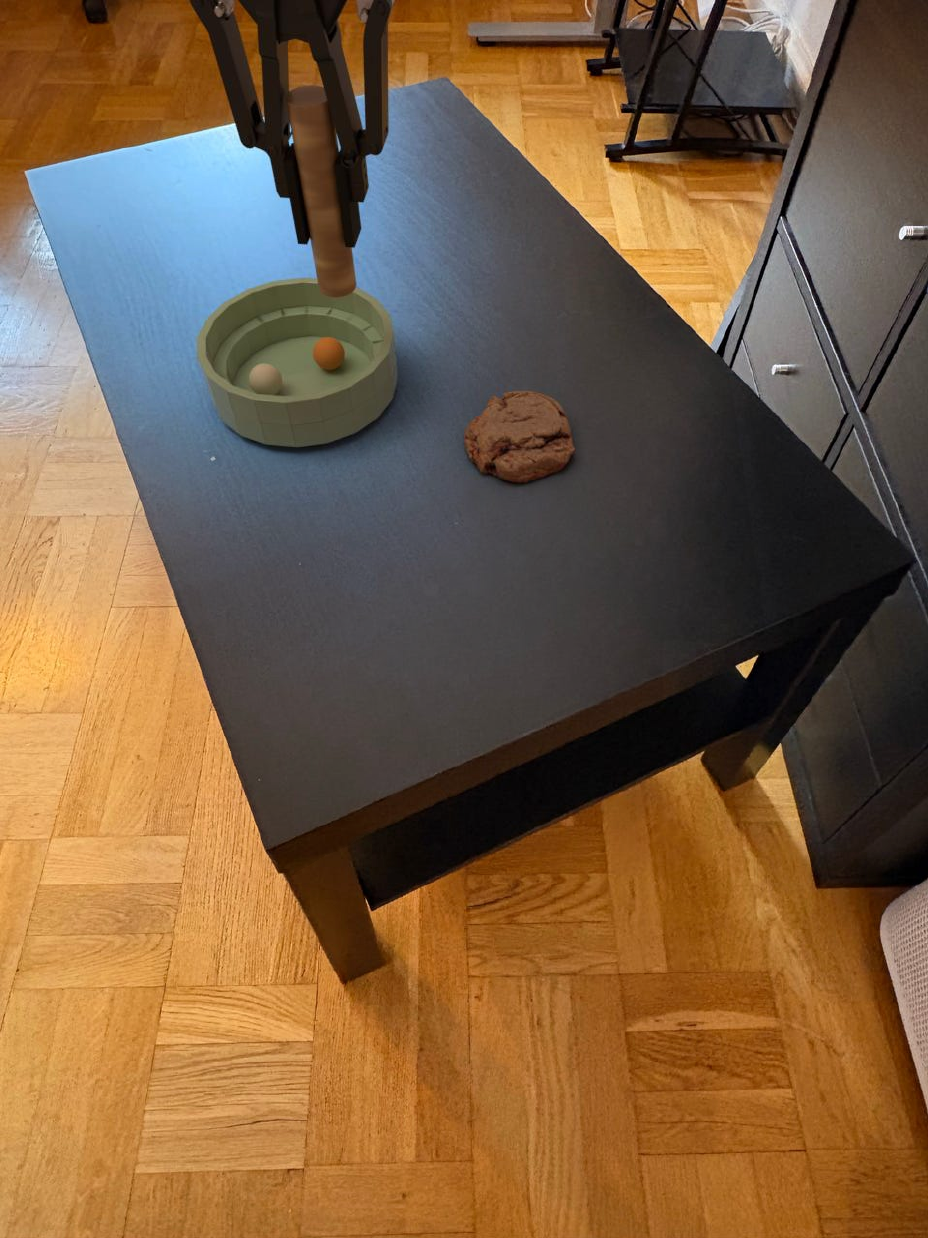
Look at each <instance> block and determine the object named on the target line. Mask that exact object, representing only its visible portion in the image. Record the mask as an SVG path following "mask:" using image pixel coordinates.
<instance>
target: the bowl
mask: <svg viewBox="0 0 928 1238" xmlns="http://www.w3.org/2000/svg"><path fill="white" fill-rule="evenodd" d="M324 337H332V338H335V339H337V340H338V341H339V342H340V343H341V344H342V346H343V348H344V351H345V357H344V361H343V363H342V364H341V365H340V366H339V367H338V368H336V369H333V370H326V369H323V368H321V367H320V366H319V365H318V364H317V363H316V362H315V360H314V357H313V349H314V346H315V344H316V343H317V341H319V340H320V339H322V338H324ZM395 341H396V340H395V332H394V328H393V323H392V318H391V315H390V313H389V312H388V310H387V309H385V307H384V306H383V304H382V303H381V302H380V301H379V300H378V299H377V298H376V297H374V296H373V295H371V294H370V293H368V292H367V291H364V290H363V289H362V288H359V287H358V286H356V288H355V290H354V291H353V292H352V293H350V294H349V295H346V296H343V297H329V296H326V295H324V294H322V293H321V292H320V290H319V286H318V281H317V277H316V278H315V277H297V278H289V279H287V278H286V279H279V280H273V281H269V282H266V283H263V284H259V285H257V286H256V285H255V286H253V287H250V288H247V289H245V290H244V291H241V292H240V293H238V294H236V295H234V296H233V297H231V298H229V299H228V300H227V299H226V301H224V302H222V303H221V304H220V305H219V306H218V307H217V308H216V309H215V310H214V311H213V312H211V314H210V315H209V316H207V318H206V319H205V320H204V323H203V325H202V327H201V329H200V330H199V333H198V335H197V337H196V359H197V363H198V365H199V368H200V371H201V374H202V377H203V379H204V380H203V381H204V383H205V386H206V391H207V393H208V396H209V398H210V402H211V404H212V406H213V408H214V410H215V412H216V413H217V415H218V417H219V419H220V420H221V422H222V423H224V424H225V425H226V426H228V427H229V428H231V430H233V431H234V432H235V433H236V434H238V435H239V436H241V437H243V438H246V439H249V440H252V441H254V442H258V443H260V444H263V445H267V446H276V447H277V446H278V447H290V448H301V447H311V446H316V445H317V446H318V445H324V444H330V443H332V442H335V441H338V440H340V439H343V438H346V437H349V436H352V435H355V434H356V433H358V432H359V431H361V430H362V429H364V428H365V427H367V426H368V425H369V424H371V423H372V422H374V421H375V420H377V419H378V418H379V417H380V416H381V415H382V414H383V412H384V411H385V410H386V408H387V407H388V406H389V404H390V403H391V402H392V401H393V399H394V397H395V392H396V389H397V384H398V380H399V375H398V373H399V372H398V362H397V352H396V342H395ZM264 363H265V364H270V365H273V366H274V367H276V368H277V369H278V371H279V372H280V374H281V377H282V386H281V388H280V390H279V391H278V393H276V394H275V395H264V394H256V393H255V392H254V391H253V390H252V388H251V386H250V383H249V375H250V372H251V371H252V369H253V368H254V367H255V366H257V365H259V364H264Z"/></svg>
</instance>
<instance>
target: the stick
mask: <svg viewBox="0 0 928 1238" xmlns="http://www.w3.org/2000/svg"><path fill="white" fill-rule="evenodd" d="M286 103H287V109H288V114H289V120H290V132H292V135H291V138H292V143H294V149H295V154H296V160H297V166H298V172H299V177H300V183H301V189H302V195H303V200H304V206H305V212H306V217H307V223H308V229H309V235H310V239H309V241H310V246H311V250H312V251H311V252H312V258H313V262H314V269H315V274H316V278H317V281H318V286H319V290H320V292H321V293H322V294H324V295H326V296H329V297H343V296H346V295H349V294H350V293H352V292H353V291H354V290H355V288H356V287H357V276H356V270H355V262H354V256H353V248H350V247H345V241H344V234H343V227H342V219H341V212H340V205H339V198H338V190H337V183H336V176H335V169H334V163H335V161H336V158H337V157H338V155H339V151H340V148H339V140H338V137H337V133H336V129H335V126H334V122H333V119H332V115H331V112H330V108H329V104H328V101H327V97H326V94H325V90H324V87H323V86H321V85H313V84H312V85H310V84H309V85H303V86H302V85H301V86H298V87H295V88H293V89H291V90H289V92H288V93H287V95H286Z"/></svg>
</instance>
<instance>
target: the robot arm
mask: <svg viewBox="0 0 928 1238" xmlns="http://www.w3.org/2000/svg"><path fill="white" fill-rule="evenodd" d="M237 1H238V2H239V4H240V5H241V6H242V8H243V9H244V10H245V11H246V13H247V14H248V15H249V16H250V18H251V19H252V20H253V22H254V23H255V24H256V26H257V43H258V46H257V47H258V55H259V56H260V59H261V60H260V61H261V77H262V78H261V81H262V82H261V83H262V99H263V100H262V101H263V112H262V108H261V105H260V101H259V98H258V94H257V91H256V87H255V82H254V79H253V75H252V71H251V67H250V64H249V61H248V60H249V59H248V56H247V53H246V50H245V46H244V42H243V38H242V35H241V31H240V27H239V24H238V21H237V17H236V15H235V12H234V9H235V5H236V4H235V0H189V3H190V5H191V7H192V9H193V10H194V12H195V14H196V16H197V17H198V19H199V20H200V22H201V24H202V25H203V27H204V28H205V30H206V32H207V34H208V37H209V40H210V44H211V48H212V51H213V54H214V57H215V60H216V65H217V67H218V71H219V74H220V77H221V81H222V85H223V88H224V91H225V94H226V98H227V101H228V105H229V108H230V111H231V114H232V118H233V121H234V124H235V127H236V131H237V135H238V138H239V141H240V143H241V145H242V146H243V147H244V148H246V149H250V150H251V149H254V148H256V149H258V150H261V151H263V152H264V153H266V155H267V157H268V158H269V161H270V166H271V170H272V176H273V182H274V186H275V191H276V194H277V195H278V196H279V198H280V199H289V203H290V208H291V214H292V220H293V225H294V230H295V236H296V242H297V244H298V245H309V241H310V235H309V229H308V223H307V217H306V212H305V206H304V200H303V195H302V189H301V183H300V177H299V172H298V166H297V160H296V154H295V149H294V143H293V142H291V143H290V139H291V138H292V132H291V126H290V120H289V114H288V109H287V103H286V95H287V93H288V92H289V91H290V74H289V73H290V72H289V71H290V70H289V69H290V68H289V41H292V40H297V41H301V42H303V43H306V44H308V47H309V50H310V54H311V57H312V59H313V61H314V62H315V63H316V64H317V68H318V72H319V74H320V79H321V83H322V87H324V90H325V94H326V97H327V101H328V104H329V108H330V112H331V115H332V119H333V122H334V126H335V129H336V133H337V141H338V145H339V147H340V148H339V155H338V157H337V158H336V161H335V163H334V169H335V176H336V183H337V190H338V198H339V205H340V212H341V219H342V227H343V234H344V241H345V247H350V248H352V249H354V248H356V246H357V242H358V239H359V236H360V234H361V231H362V221H361V214H360V206H359V205H360V204H359V203H364V202H365V199H366V197H367V194H368V191H369V187H370V185H369V174H368V164H367V157H368V156H370V155H371V156H379V155H380V154H381V153H382V152H383V149H384V147H385V144H386V141H387V139H388V135H389V132H390V131H389V129H390V128H389V127H390V126H389V123H390V121H389V120H390V119H389V118H390V117H389V22H390V19H391V16H392V14H393V11H394V7H395V4H396V1H397V0H354V1H355V3H356V6H357V9H356V13H357V18H358V19H359V21H360V23H362V24H363V25H365V27H364V30H363V36H362V37H363V38H362V52H363V53H362V56H363V58H362V59H363V88H364V89H363V90H364V91H363V92H364V124H365V125H364V126H365V129H364V127H363V123H362V119H361V116H360V112H359V108H358V104H357V99H356V96H355V92H354V91H355V90H354V89H353V84H352V79H351V75H350V73H349V69H348V64H347V60H346V57H345V52H344V48H343V44H342V38H343V37H342V31H341V28H340V27H341V26H340V22H339V18H340V16H341V14H342V12H343V10H344V8H345V7H346V5H347V3H348V1H349V0H237Z"/></svg>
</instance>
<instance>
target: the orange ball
mask: <svg viewBox="0 0 928 1238" xmlns="http://www.w3.org/2000/svg"><path fill="white" fill-rule="evenodd" d="M313 357H314V360H315V362H316V363H317V364H318V365H319V366H320V367H321V368H323V369H326V370H333V369H336V368H338V367H339V366H340V365H341V364H342V363H343V361H344V357H345V351H344V348H343V346H342V344H341V343H340V342H339V341H338V340H337V339H335V338H332V337H324V338H322V339H320V340H319V341H317V343H316V344H315V346H314V349H313Z"/></svg>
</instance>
